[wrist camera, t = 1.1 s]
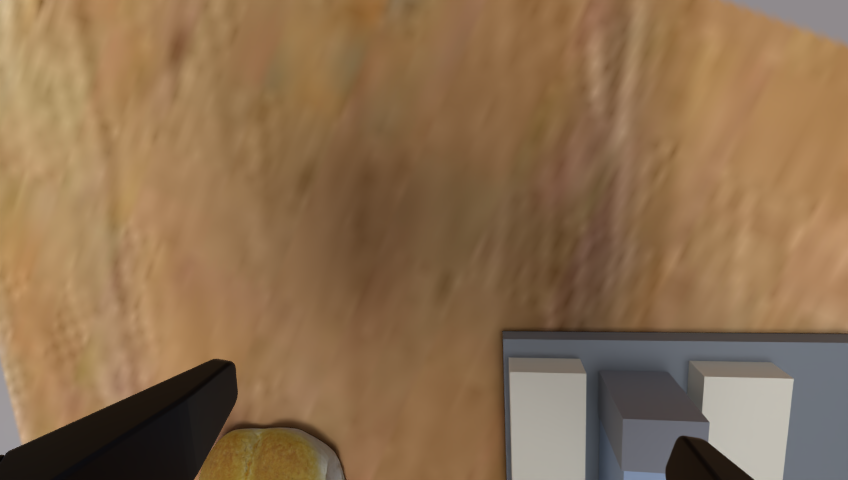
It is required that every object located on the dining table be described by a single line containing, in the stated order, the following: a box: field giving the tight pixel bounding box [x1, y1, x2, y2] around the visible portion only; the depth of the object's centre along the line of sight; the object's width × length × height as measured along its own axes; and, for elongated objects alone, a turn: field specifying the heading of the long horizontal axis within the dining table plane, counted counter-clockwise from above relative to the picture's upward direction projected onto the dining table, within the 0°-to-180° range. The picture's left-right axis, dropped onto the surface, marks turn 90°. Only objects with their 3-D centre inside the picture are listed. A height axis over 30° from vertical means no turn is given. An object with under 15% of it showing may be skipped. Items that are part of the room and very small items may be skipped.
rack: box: [503, 331, 848, 480], centre depth 21 cm, size 14×21×2 cm, turn 94°
